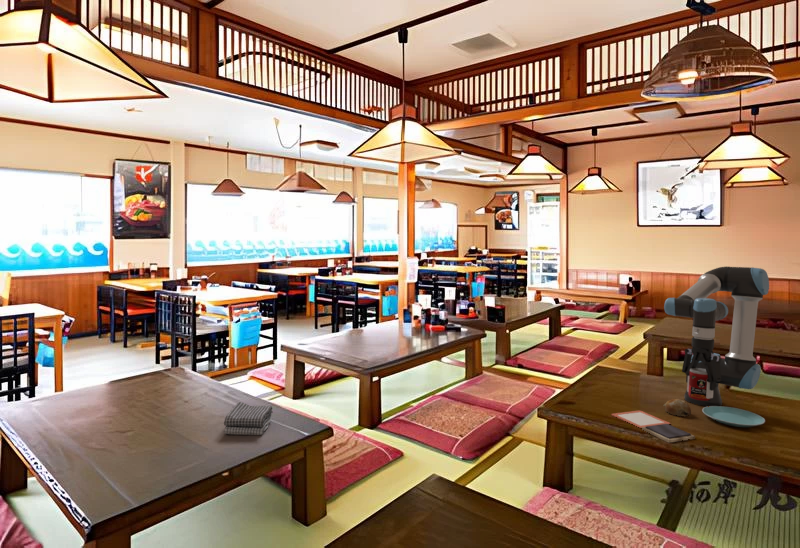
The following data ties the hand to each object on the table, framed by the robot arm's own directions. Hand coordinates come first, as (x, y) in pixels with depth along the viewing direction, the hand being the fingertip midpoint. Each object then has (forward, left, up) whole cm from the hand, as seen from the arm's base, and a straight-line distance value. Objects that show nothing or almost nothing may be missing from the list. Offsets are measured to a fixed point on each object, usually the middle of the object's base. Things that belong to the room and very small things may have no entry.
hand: (699, 394), depth 193 cm
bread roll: (-11, -19, -15) cm, 27 cm away
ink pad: (+14, -1, -15) cm, 20 cm away
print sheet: (+12, -17, -15) cm, 26 cm away
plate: (-26, -5, -15) cm, 31 cm away
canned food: (0, 0, -1) cm, 1 cm away
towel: (+169, -55, -16) cm, 178 cm away
